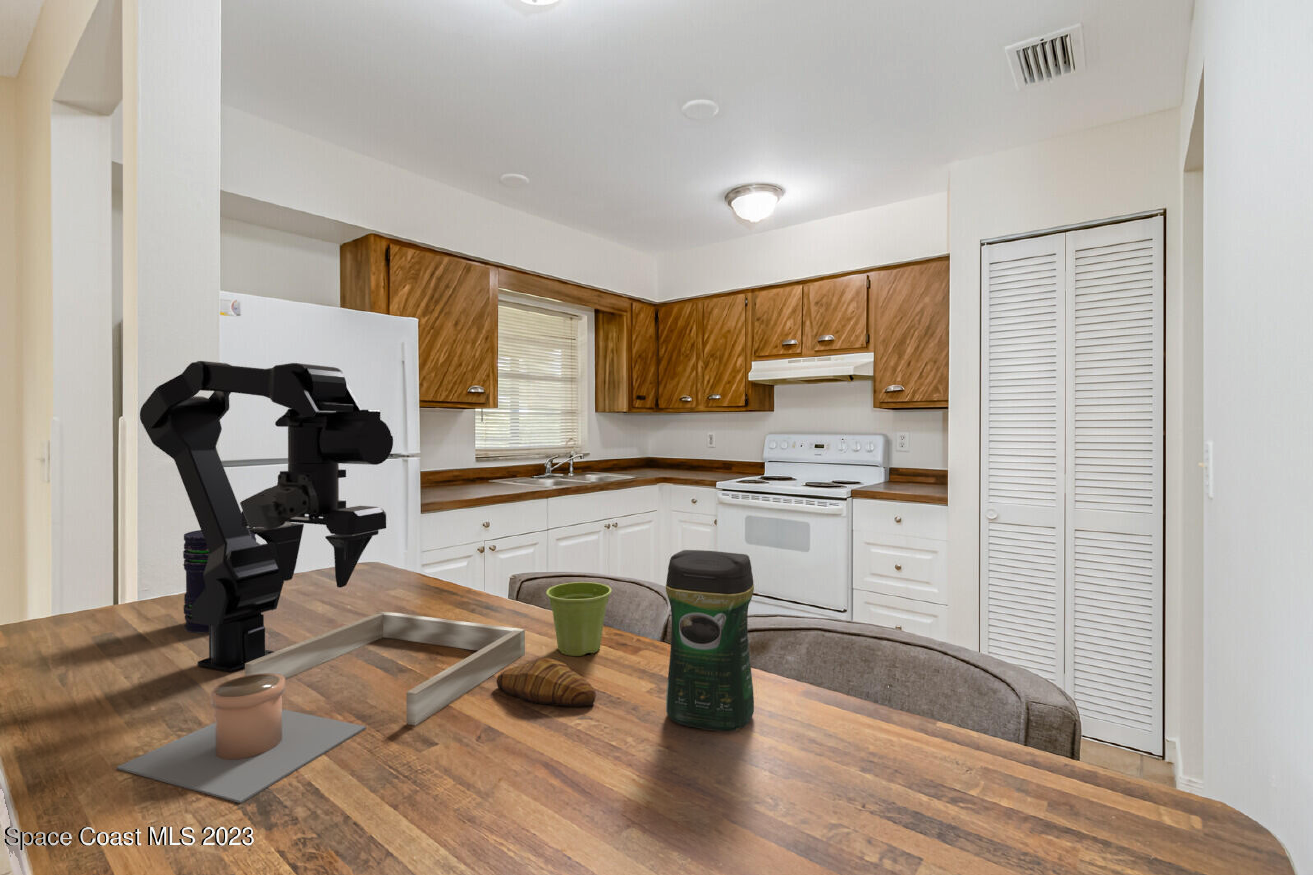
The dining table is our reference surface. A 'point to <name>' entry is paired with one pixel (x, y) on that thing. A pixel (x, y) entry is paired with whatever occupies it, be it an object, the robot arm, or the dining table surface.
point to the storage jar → (195, 574)
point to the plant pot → (579, 615)
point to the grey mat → (241, 778)
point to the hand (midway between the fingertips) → (314, 583)
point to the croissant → (547, 684)
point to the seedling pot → (248, 715)
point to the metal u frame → (438, 691)
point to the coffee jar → (710, 640)
